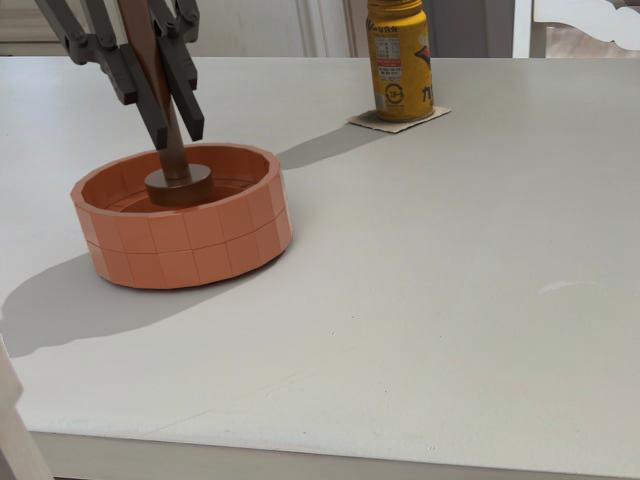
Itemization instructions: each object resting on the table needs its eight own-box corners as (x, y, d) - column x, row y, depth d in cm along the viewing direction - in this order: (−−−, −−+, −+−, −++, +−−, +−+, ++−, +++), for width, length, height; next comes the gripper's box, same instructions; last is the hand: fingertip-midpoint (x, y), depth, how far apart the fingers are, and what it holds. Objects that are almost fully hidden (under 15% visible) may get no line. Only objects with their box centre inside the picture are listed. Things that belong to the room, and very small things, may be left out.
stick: (138, 207, 76) (70, -26, 66) (166, 182, 80) (105, -42, 70) (199, 207, 75) (140, -30, 66) (225, 182, 79) (172, -45, 69)
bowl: (58, 293, 76) (30, 215, 73) (148, 213, 88) (128, 142, 84) (252, 299, 74) (234, 218, 70) (319, 215, 85) (306, 142, 81)
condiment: (452, 111, 105) (442, -20, 97) (395, 134, 100) (379, -2, 93) (402, 101, 109) (388, -26, 101) (345, 123, 104) (326, -9, 97)
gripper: (148, -134, 79) (272, 139, 78) (-54, -105, 73) (77, 188, 73) (149, -220, 72) (285, 79, 71) (-75, -195, 66) (71, 128, 66)
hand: (180, 134), depth 72 cm, fingers closed on stick, 2 cm apart
